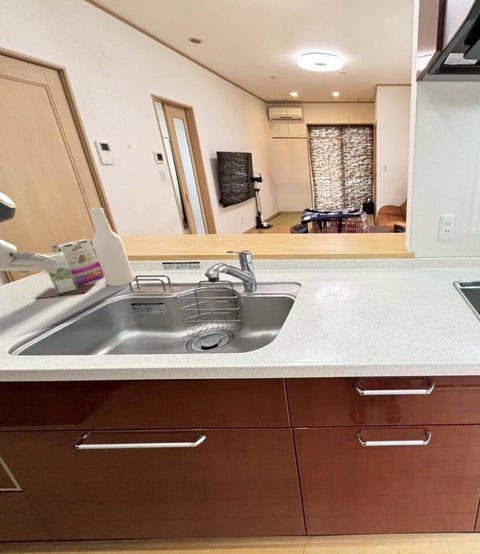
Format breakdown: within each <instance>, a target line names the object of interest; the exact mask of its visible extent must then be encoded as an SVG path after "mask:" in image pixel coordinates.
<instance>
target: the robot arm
mask: <svg viewBox="0 0 480 554" xmlns="http://www.w3.org/2000/svg"><path fill="white" fill-rule="evenodd" d="M16 207H17V206H16V204H15V202H14V201H12V199H10V197H8V196H7V195H5V194H4V193H3V192H2V191H0V223H3V222H4V223H5V222H6V221H9V220H12V219H13V218H14V217H15V215H16V211H17V208H16ZM56 264H57V261H56V260H54V259H52V258H49V257H47V256H44V255H43V254H41V253H38V252H34V251H18V249H17V246H15V245H14V244H12V243H10V242H8V241H5V240H2V239H1V238H0V272H13V273H18V274H21V275H28V274H29V272H46V273H47V274H48V273H50V274H56V272H57V269H55V266H56Z"/></svg>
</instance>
